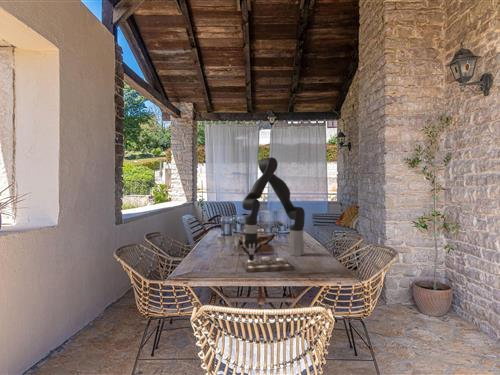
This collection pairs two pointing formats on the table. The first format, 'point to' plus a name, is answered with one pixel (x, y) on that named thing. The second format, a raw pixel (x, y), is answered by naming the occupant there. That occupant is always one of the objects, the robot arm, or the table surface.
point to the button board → (266, 265)
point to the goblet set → (229, 242)
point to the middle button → (265, 258)
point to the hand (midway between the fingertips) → (251, 260)
